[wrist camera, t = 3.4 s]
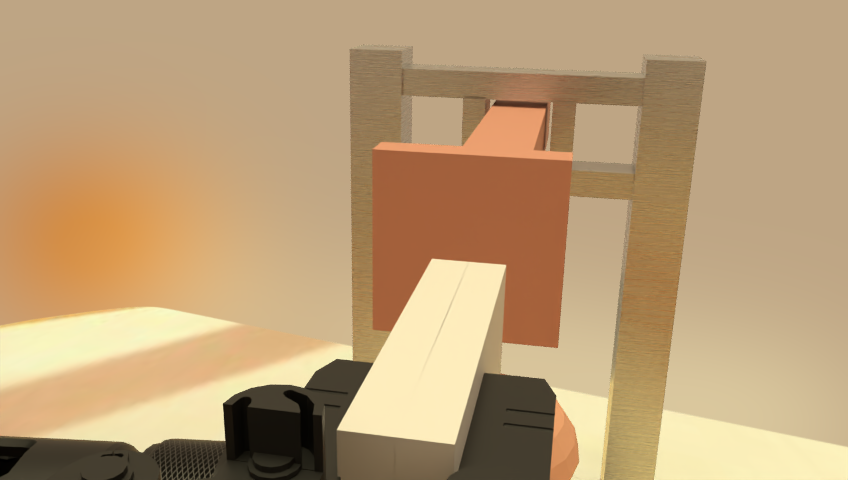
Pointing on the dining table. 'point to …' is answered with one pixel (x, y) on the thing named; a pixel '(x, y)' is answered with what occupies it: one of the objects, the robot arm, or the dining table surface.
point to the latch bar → (476, 217)
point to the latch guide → (638, 182)
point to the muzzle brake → (42, 457)
